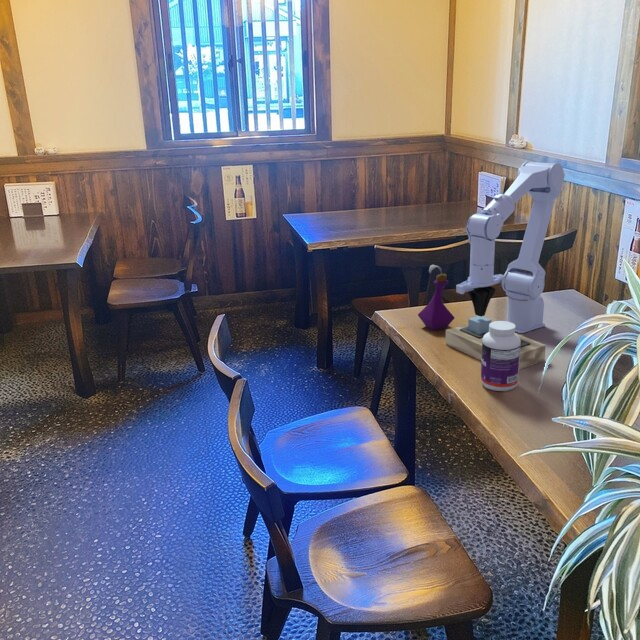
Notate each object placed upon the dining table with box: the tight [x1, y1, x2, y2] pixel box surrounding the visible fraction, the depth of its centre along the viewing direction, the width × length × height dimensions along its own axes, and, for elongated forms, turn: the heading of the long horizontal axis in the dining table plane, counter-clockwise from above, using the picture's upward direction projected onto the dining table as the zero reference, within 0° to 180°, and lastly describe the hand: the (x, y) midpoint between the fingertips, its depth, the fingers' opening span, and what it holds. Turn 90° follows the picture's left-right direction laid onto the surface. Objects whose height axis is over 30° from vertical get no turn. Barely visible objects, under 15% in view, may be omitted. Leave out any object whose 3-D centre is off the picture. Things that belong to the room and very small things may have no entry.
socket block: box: [445, 323, 547, 370], centre depth 155 cm, size 12×22×4 cm, turn 30°
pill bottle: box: [480, 320, 521, 392], centre depth 136 cm, size 8×8×14 cm
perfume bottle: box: [417, 264, 455, 331], centre depth 171 cm, size 8×8×18 cm
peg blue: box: [467, 315, 492, 335], centre depth 158 cm, size 4×4×4 cm
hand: (480, 315), depth 157 cm, fingers closed
